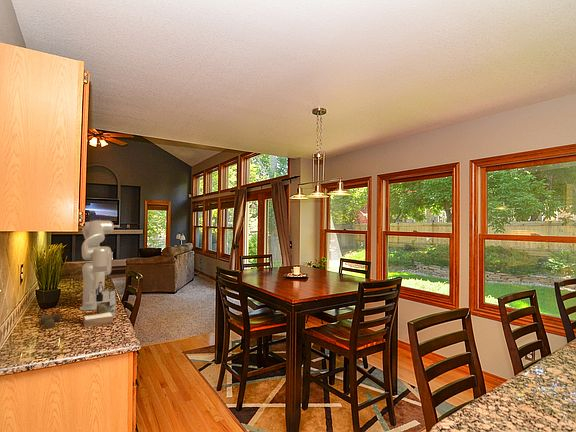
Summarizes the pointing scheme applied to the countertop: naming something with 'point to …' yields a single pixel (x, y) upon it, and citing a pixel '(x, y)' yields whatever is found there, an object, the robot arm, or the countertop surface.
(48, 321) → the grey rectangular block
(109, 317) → the stand
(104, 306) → the coffee box
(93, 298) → the housing
